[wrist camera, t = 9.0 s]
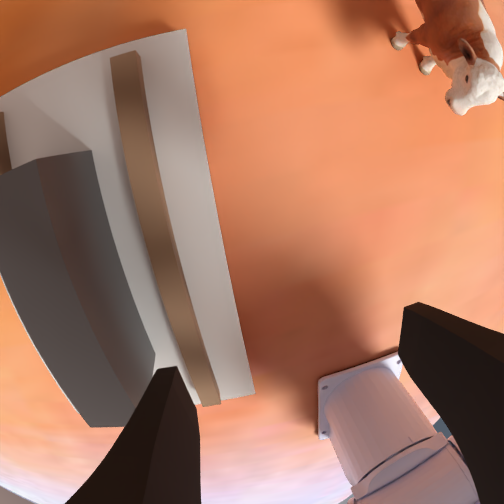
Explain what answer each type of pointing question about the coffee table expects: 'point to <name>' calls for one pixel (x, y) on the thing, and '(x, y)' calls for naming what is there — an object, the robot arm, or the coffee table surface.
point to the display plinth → (145, 196)
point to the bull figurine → (459, 50)
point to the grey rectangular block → (73, 286)
